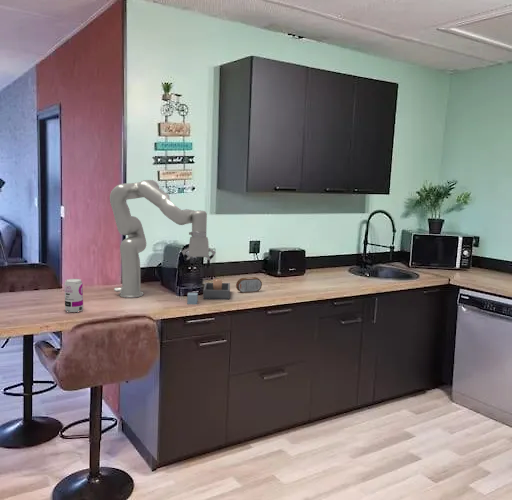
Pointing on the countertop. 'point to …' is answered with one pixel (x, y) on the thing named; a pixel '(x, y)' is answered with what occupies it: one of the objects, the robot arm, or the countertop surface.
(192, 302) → the cube
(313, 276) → the countertop surface
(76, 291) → the supplement can
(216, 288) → the cylinder
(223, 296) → the tote
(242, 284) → the tin
